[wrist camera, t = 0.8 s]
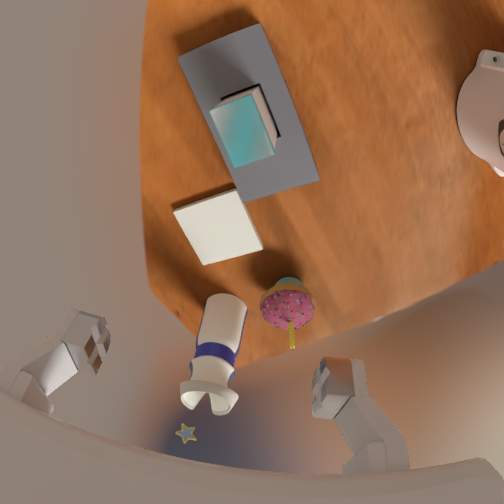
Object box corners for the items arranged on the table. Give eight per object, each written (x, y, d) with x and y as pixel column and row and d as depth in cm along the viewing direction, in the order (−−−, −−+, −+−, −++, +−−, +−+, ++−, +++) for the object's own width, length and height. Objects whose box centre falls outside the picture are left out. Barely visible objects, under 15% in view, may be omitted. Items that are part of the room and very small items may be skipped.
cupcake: (323, 294, 53) (327, 351, 43) (280, 312, 56) (276, 368, 46) (297, 258, 49) (297, 316, 39) (252, 280, 53) (242, 337, 43)
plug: (260, 83, 35) (250, 94, 26) (278, 128, 38) (274, 154, 29) (229, 95, 36) (208, 111, 27) (247, 138, 39) (234, 168, 30)
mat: (237, 187, 43) (236, 190, 43) (263, 245, 48) (262, 249, 48) (175, 209, 46) (173, 212, 45) (204, 261, 51) (203, 265, 51)
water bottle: (246, 329, 60) (226, 453, 39) (202, 319, 60) (168, 441, 39) (254, 298, 55) (234, 435, 35) (205, 288, 55) (165, 420, 34)
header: (262, 25, 30) (259, 22, 28) (317, 170, 41) (319, 180, 38) (185, 56, 33) (176, 57, 31) (246, 191, 44) (243, 203, 41)
